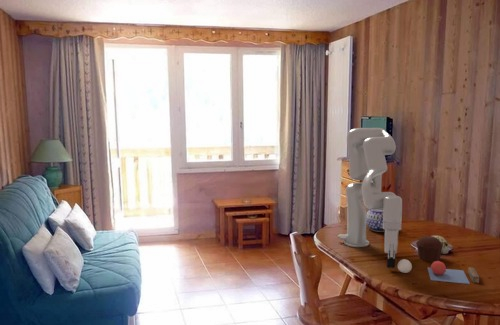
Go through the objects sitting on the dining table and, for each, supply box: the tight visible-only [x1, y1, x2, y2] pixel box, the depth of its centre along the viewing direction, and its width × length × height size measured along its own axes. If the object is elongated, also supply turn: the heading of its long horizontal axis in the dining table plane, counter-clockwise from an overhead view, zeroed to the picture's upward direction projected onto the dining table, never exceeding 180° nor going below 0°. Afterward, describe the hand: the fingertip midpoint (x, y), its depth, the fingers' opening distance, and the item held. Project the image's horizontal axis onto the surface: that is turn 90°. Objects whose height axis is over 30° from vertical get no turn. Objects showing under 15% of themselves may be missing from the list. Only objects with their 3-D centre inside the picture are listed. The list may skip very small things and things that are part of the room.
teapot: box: [366, 209, 385, 233], centre depth 237 cm, size 25×15×15 cm, turn 173°
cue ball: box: [397, 258, 413, 274], centre depth 173 cm, size 6×6×6 cm
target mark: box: [427, 266, 471, 285], centre depth 170 cm, size 14×14×1 cm
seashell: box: [432, 235, 450, 255], centre depth 200 cm, size 10×10×10 cm
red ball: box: [430, 260, 447, 275], centre depth 171 cm, size 6×6×6 cm
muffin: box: [415, 235, 443, 263], centre depth 190 cm, size 12×11×10 cm
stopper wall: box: [467, 267, 480, 284], centre depth 167 cm, size 2×10×2 cm, turn 163°
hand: (390, 266), depth 176 cm, fingers closed
